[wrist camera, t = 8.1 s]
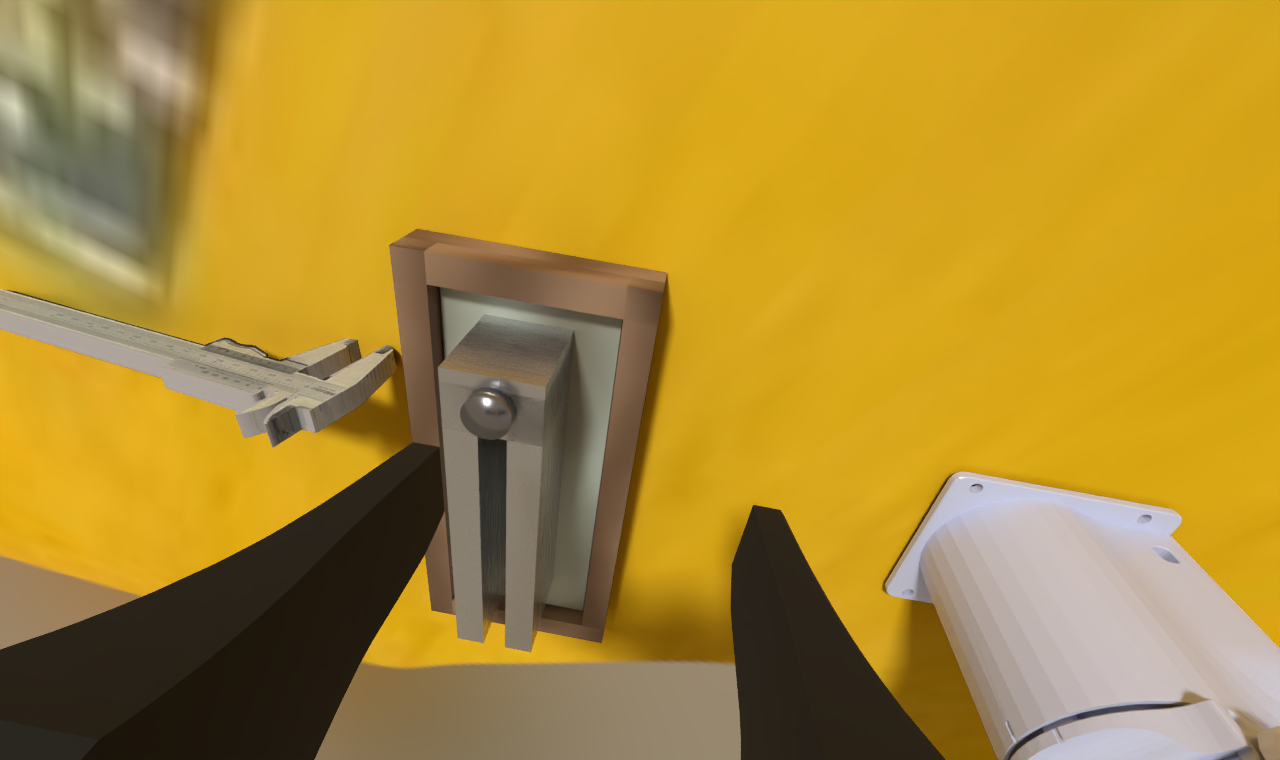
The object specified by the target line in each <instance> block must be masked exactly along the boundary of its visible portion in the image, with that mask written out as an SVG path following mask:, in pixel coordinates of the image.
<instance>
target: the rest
mask: <svg viewBox="0 0 1280 760" xmlns="http://www.w3.org/2000/svg"><path fill="white" fill-rule="evenodd" d="M389 247H390V255H391V264H392V273H393V281H394V290H395V299H396V307H397V316H398V324H399V333H400V342H401V350H402V359H403V368H404V376H405V385H406V394H407V402H408V411H409V420H410V428H411V437H412V443H413V442H416V443H421V444H426V445H432V446H437V447H440V458H441V471H442V483H443V496H444V508H445V511H444V514H443V516H442V518H441V521H440V523H439V525H438V528H437V530H436V532H435V534H434V537H433V539H432V541H431V543H430V545H429V547H428V549H427V552H426V553H425V558H426V566H427V575H428V584H429V592H430V601H431V610H432V611H437V612H443V613H448V614H453V615H456V607H455V593H454V580H453V566H452V553H451V539H450V526H449V512H448V499H447V485H446V472H445V458H444V445H443V431H442V418H441V404H440V391H439V377H438V366H439V365H440V364H441V363H442V362H443V361H444V360H445V358H446V357H447V356H448V355H449V354H450V353H451V352H452V350H453V349H454V348H455V347H456V346H457V345H458V344H459V343H460V341H461V340H462V339H463V338H464V337H465V336H466V335H467V333H468V332H469V331H470V330H471V329H472V328H473V327H474V326H475V324H476V323H477V322H478V321H479V320H480V319H481V318H482V316H483V315H484V314H488V315H493V316H499V317H504V318H510V319H515V320H521V321H526V322H532V323H538V324H543V325H549V326H554V327H560V328H565V329H571V330H574V335H573V347H572V359H571V371H570V383H569V395H568V407H567V419H566V431H565V443H564V455H563V467H562V479H561V491H560V503H559V515H558V527H557V539H556V551H555V563H554V575H553V581H552V584H551V587H550V591H549V594H548V597H547V601H546V604H545V607H544V611H543V614H542V617H541V621H540V624H539V627H538V630H537V631H542V632H547V633H552V634H557V635H562V636H568V637H573V638H578V639H583V640H589V641H594V642H599V643H602V638H603V632H604V627H605V622H606V616H607V611H608V605H609V600H610V594H611V588H612V583H613V577H614V571H615V566H616V560H617V554H618V549H619V543H620V537H621V532H622V526H623V520H624V515H625V509H626V503H627V498H628V492H629V486H630V481H631V475H632V469H633V464H634V458H635V452H636V447H637V441H638V435H639V430H640V424H641V418H642V413H643V407H644V401H645V396H646V390H647V384H648V379H649V373H650V367H651V362H652V356H653V350H654V345H655V339H656V333H657V328H658V322H659V316H660V311H661V305H662V299H663V294H664V288H665V282H666V277H667V273H665V272H659V271H653V270H647V269H642V268H636V267H630V266H625V265H619V264H613V263H608V262H602V261H596V260H591V259H585V258H579V257H574V256H568V255H562V254H557V253H551V252H545V251H539V250H534V249H528V248H522V247H517V246H511V245H505V244H500V243H494V242H488V241H483V240H477V239H471V238H466V237H460V236H454V235H449V234H443V233H437V232H431V231H426V230H420V229H416V230H415V231H413V232H411V233H409V234H408V235H406V236H404V237H403V238H401V239H399V240H397V241H396V242H394V243H392V244H391V245H389ZM505 600H506V586H505V589H504V591H503V594H502V597H501V599H500V602H499V604H498V607H497V610H496V612H495V615H494V617H493V620H492V622H495V623H500V624H505Z"/></svg>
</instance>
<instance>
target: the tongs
mask: <svg viewBox="0 0 1280 760" xmlns="http://www.w3.org/2000/svg"><path fill="white" fill-rule="evenodd" d="M573 335H574V330H571V329H565V328H560V327H554V326H549V325H543V324H538V323H532V322H526V321H521V320H515V319H510V318H504V317H499V316H493V315H488V314H484V315H483V316H482V318H481V319H480V320H479V321H478V322H477V323H476V324H475V326H474V327H473V328H472V329H471V330H470V331H469V332H468V333H467V335H466V336H465V337H464V338H463V339H462V340H461V341H460V343H459V344H458V345H457V346H456V347H455V348H454V349H453V350H452V352H451V353H450V354H449V355H448V356H447V357H446V358H445V360H444V361H443V362H442V363H441V364H440V365H439V366H438V377H439V391H440V404H441V418H442V431H443V445H444V458H445V472H446V485H447V499H448V512H449V526H450V539H451V553H452V566H453V580H454V593H455V607H456V620H457V634H458V638H460V639H466V640H471V641H476V642H481V643H484V641H485V638H486V635H487V633H488V630H489V628H490V625H491V622H492V620H493V617H494V615H495V612H496V610H497V607H498V604H499V602H500V599H501V597H502V594H503V591H504V589H505V586H506V600H505V647H507V648H512V649H517V650H522V651H528V652H531V650H532V647H533V644H534V640H535V637H536V634H537V630H538V627H539V624H540V621H541V617H542V614H543V611H544V607H545V604H546V601H547V597H548V594H549V591H550V587H551V584H552V581H553V575H554V563H555V551H556V539H557V527H558V515H559V503H560V491H561V479H562V467H563V455H564V443H565V431H566V419H567V407H568V395H569V383H570V371H571V359H572V347H573Z"/></svg>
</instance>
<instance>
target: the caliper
mask: <svg viewBox="0 0 1280 760" xmlns="http://www.w3.org/2000/svg"><path fill="white" fill-rule="evenodd" d="M0 329H2V330H5V331H8V332H12V333H15V334H18V335H21V336H25V337H28V338H31V339H34V340H38V341H41V342H44V343H48V344H51V345H54V346H58V347H61V348H64V349H67V350H71V351H74V352H77V353H81V354H84V355H87V356H91V357H94V358H97V359H101V360H104V361H107V362H110V363H114V364H117V365H120V366H124V367H127V368H130V369H134V370H137V371H140V372H144V373H147V374H150V375H153V376H157V377H160V378H162V379H163V381H164V383H165V385H166V388H167V389H171V390H174V391H177V392H180V393H183V394H186V395H189V396H192V397H195V398H198V399H201V400H204V401H208V402H211V403H214V404H217V405H220V406H223V407H226V408H229V409H232V410H235V411H238V412H237V413H235V416H236V418H237V421H238V423H239V426H240V429H241V431H242V434H243V437H244V438H247V437H252V436H255V435H258V434H262V433H265V432H267V434H268V437H269V440H270V442H271V445H272V447H275V446H276V445H278V444H279V443H281V442H283V441H284V440H286V439H287V438H289V437H291V436H292V435H294V434H295V433H297V432H298V431H300V430H306V431H310V432H314V433H317V432H318V431H320V430H322V429H323V428H325V427H326V426H328V425H330V424H331V423H333V422H335V421H336V420H338V419H340V418H341V417H343V416H344V415H346V414H348V413H349V412H351V411H352V410H354V409H356V408H357V407H359V406H361V405H362V404H363V403H364V402H365V401H366V400H367V399H368V398H369V397H370V396H371V395H372V394H373V393H374V392H375V391H376V390H377V389H378V388H379V387H380V386H381V385H382V384H383V383H384V382H385V381H386V380H387V379H388V378H389V377H390V376H391V375H392V374H393V373H394V372H395V371H396V364H395V358H394V353H393V349H392V347H391V346H388V345H385V346H383V347H381V348H380V349H378V350H376V351H375V352H373V353H371V354H369V355H367V356H365V357H364V358H362V359H361V355H360V350H359V345H358V340H352V339H343V340H340V341H337V342H334V343H330V344H327V345H324V346H321V347H318V348H315V349H312V350H309V351H306V352H303V353H300V354H297V355H294V356H291V357H288V358H285V359H282V360H278V359H274V358H270V357H268V354H266V353H265V352H264V351H262V350H261V349H259V348H258V347H257V346H254V345H245V344H240V343H237V342H236V341H234V340H232V339H230V338H221V339H219V340H216V341H213V342H211V343H208V344H206V345H203V344H199V343H196V342H192V341H188V340H185V339H181V338H178V337H174V336H170V335H167V334H163V333H160V332H156V331H152V330H149V329H145V328H142V327H138V326H135V325H131V324H127V323H124V322H120V321H117V320H113V319H109V318H106V317H102V316H99V315H95V314H92V313H88V312H85V311H81V310H78V309H74V308H71V307H67V306H64V305H60V304H57V303H54V302H50V301H47V300H43V299H40V298H36V297H33V296H29V295H26V294H22V293H19V292H15V291H9V290H2V289H0Z"/></svg>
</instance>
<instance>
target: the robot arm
mask: <svg viewBox="0 0 1280 760" xmlns="http://www.w3.org/2000/svg"><path fill="white" fill-rule="evenodd" d="M974 484H977V485H975V486H973V487H971V486H972V485H974ZM444 511H445V508H444V496H443V483H442V471H441V458H440V447H437V446H432V445H426V444H421V443H416V442H413V443H412V444H410V445H409V446H407V447H406V448H404V449H403V450H401V451H399V452H398V453H397V454H395V455H394V456H392V457H391V458H389V459H388V460H386V461H385V462H383V463H382V464H381V465H379V466H378V467H376V468H375V469H373V470H372V471H370V472H369V473H368V474H366V475H365V476H363V477H362V478H360V479H359V480H357V481H356V482H354V483H353V484H351V485H350V486H348V487H347V488H345V489H344V490H342V491H341V492H339V493H338V494H336V495H335V496H333V497H332V498H330V499H329V500H327V501H326V502H324V503H322V504H321V505H319V506H318V507H316V508H314V509H313V510H311V511H309V512H308V513H306V514H305V515H303V516H301V517H300V518H298V519H296V520H295V521H293V522H291V523H290V524H288V525H286V526H285V527H283V528H282V529H280V530H278V531H276V532H274V533H273V534H271V535H269V536H267V537H266V538H264V539H262V540H260V541H258V542H256V543H255V544H253V545H251V546H249V547H247V548H245V549H243V550H241V551H239V552H237V553H235V554H233V555H231V556H230V557H228V558H226V559H224V560H222V561H220V562H218V563H216V564H214V565H211V566H209V567H207V568H205V569H203V570H201V571H198V572H196V573H194V574H192V575H190V576H187V577H185V578H183V579H181V580H179V581H176V582H174V583H172V584H170V585H168V586H166V587H163V588H161V589H159V590H157V591H155V592H152V593H150V594H148V595H145V596H143V597H140V598H138V599H136V600H133V601H131V602H128V603H126V604H124V605H121V606H119V607H116V608H114V609H111V610H108V611H106V612H103V613H101V614H98V615H96V616H93V617H90V618H88V619H85V620H83V621H80V622H78V623H75V624H72V625H69V626H67V627H64V628H61V629H59V630H56V631H53V632H51V633H48V634H44V635H42V636H39V637H36V638H33V639H30V640H27V641H24V642H21V643H18V644H15V645H12V646H10V647H7V648H4V649H1V650H0V760H314V759H315V757H316V755H317V753H318V750H319V748H320V746H321V744H322V741H323V740H324V737H325V735H326V733H327V731H328V729H329V727H330V724H331V722H332V720H333V718H334V716H335V714H336V712H337V709H338V707H339V705H340V703H341V701H342V698H343V697H344V695H345V693H346V691H347V689H348V687H349V685H350V683H351V681H352V679H353V676H354V674H355V673H356V671H357V668H358V666H359V664H360V662H361V661H362V659H363V657H364V655H365V653H366V652H367V650H368V648H369V646H370V644H371V643H372V641H373V639H374V638H375V636H376V634H377V633H378V631H379V629H380V628H381V626H382V625H383V623H384V621H385V620H386V618H387V616H388V615H389V613H390V611H391V610H392V608H393V606H394V605H395V603H396V602H397V600H398V598H399V597H400V595H401V593H402V592H403V590H404V588H405V587H406V585H407V584H408V582H409V580H410V579H411V577H412V575H413V574H414V572H415V570H416V569H417V567H418V565H419V564H420V562H421V560H422V558H423V557H424V555H425V553H426V552H427V549H428V547H429V545H430V543H431V541H432V539H433V537H434V534H435V532H436V530H437V528H438V525H439V523H440V521H441V518H442V516H443V514H444ZM1181 522H1182V518H1181V516H1180V515H1179V514H1178V513H1177V512H1176V511H1174V510H1172V509H1168V508H1163V507H1157V506H1152V505H1146V504H1141V503H1135V502H1130V501H1124V500H1119V499H1113V498H1108V497H1102V496H1097V495H1091V494H1086V493H1080V492H1075V491H1069V490H1064V489H1058V488H1053V487H1047V486H1042V485H1036V484H1031V483H1025V482H1020V481H1014V480H1009V479H1003V478H998V477H992V476H987V475H981V474H976V473H970V472H958V473H955V474H953V475H952V476H951V477H950V478H949V480H948V481H947V483H946V484H945V486H944V488H943V489H942V491H941V493H940V494H939V496H938V498H937V499H936V501H935V502H934V504H933V506H932V507H931V509H930V511H929V512H928V514H927V516H926V517H925V519H924V520H923V522H922V524H921V525H920V527H919V529H918V530H917V532H916V534H915V535H914V537H913V539H912V540H911V542H910V543H909V545H908V547H907V548H906V550H905V552H904V553H903V555H902V557H901V558H900V560H899V561H898V563H897V565H896V566H895V568H894V570H893V571H892V573H891V575H890V576H889V578H888V579H887V581H886V583H885V588H886V591H887V593H888V594H889V595H891V596H894V597H899V598H905V599H910V600H915V601H921V602H926V603H931V604H934V606H935V608H936V611H937V613H938V616H939V618H940V621H941V623H942V626H943V628H944V630H945V633H946V635H947V638H948V640H949V643H950V645H951V647H952V650H953V652H954V655H955V657H956V660H957V662H958V664H959V667H960V669H961V672H962V674H963V677H964V679H965V682H966V684H967V686H968V689H969V691H970V694H971V696H972V699H973V701H974V703H975V706H976V708H977V711H978V713H979V716H980V718H981V720H982V723H983V725H984V728H985V730H986V733H987V735H988V738H989V740H990V742H991V745H992V747H993V750H994V752H995V755H996V757H997V759H998V760H1280V648H1279V647H1278V646H1277V645H1276V644H1275V643H1274V642H1273V641H1272V640H1271V639H1270V638H1269V637H1268V636H1267V635H1266V634H1265V633H1264V632H1263V631H1262V630H1261V629H1260V628H1259V627H1258V626H1257V625H1256V624H1255V623H1254V621H1253V620H1252V619H1251V618H1250V617H1249V616H1248V615H1247V614H1246V613H1245V612H1244V611H1243V610H1242V609H1241V608H1240V607H1239V606H1238V605H1237V604H1236V603H1235V602H1234V601H1233V600H1232V599H1231V598H1230V597H1229V596H1228V595H1227V594H1226V592H1225V591H1224V590H1223V589H1222V588H1221V587H1220V586H1219V585H1218V584H1217V583H1216V582H1215V581H1214V580H1213V579H1212V578H1211V577H1210V576H1209V575H1208V574H1207V573H1206V572H1205V571H1204V570H1203V569H1202V568H1201V567H1200V566H1199V565H1198V564H1197V562H1196V561H1195V560H1194V559H1193V558H1192V557H1191V556H1190V555H1189V554H1188V553H1187V552H1186V551H1185V550H1184V549H1183V548H1182V547H1181V546H1180V545H1179V544H1178V543H1177V542H1176V541H1175V540H1174V539H1173V538H1172V537H1171V536H1170V535H1171V534H1172V533H1173V532H1174V531H1175V530H1176V529H1177V528H1178V527H1179V525H1180V524H1181ZM731 619H732V631H733V643H734V654H735V665H736V676H737V688H738V698H739V710H740V727H741V760H945V759H944V757H943V756H942V755H941V754H940V753H939V751H938V750H937V749H936V748H935V747H934V746H933V744H932V743H931V742H930V741H929V740H928V738H927V737H926V736H925V735H924V734H923V732H922V731H921V730H920V729H919V728H918V726H917V725H916V724H915V723H914V722H913V721H912V719H911V718H910V717H909V716H908V715H907V713H906V712H905V711H904V710H903V708H902V707H901V706H900V704H899V703H898V702H897V700H896V699H895V698H894V697H893V695H892V694H891V693H890V691H889V690H888V689H887V687H886V686H885V685H884V683H883V682H882V681H881V679H880V678H879V676H878V675H877V674H876V672H875V671H874V670H873V668H872V667H871V665H870V664H869V662H868V661H867V660H866V658H865V657H864V655H863V654H862V652H861V651H860V649H859V648H858V646H857V645H856V643H855V642H854V640H853V639H852V637H851V636H850V634H849V632H848V631H847V629H846V628H845V626H844V625H843V623H842V621H841V620H840V618H839V617H838V615H837V613H836V612H835V610H834V608H833V607H832V605H831V603H830V602H829V600H828V598H827V596H826V595H825V593H824V591H823V589H822V588H821V586H820V584H819V582H818V581H817V579H816V577H815V575H814V574H813V572H812V570H811V568H810V566H809V564H808V562H807V560H806V559H805V557H804V555H803V553H802V551H801V549H800V547H799V545H798V543H797V541H796V539H795V537H794V535H793V533H792V531H791V529H790V527H789V525H788V523H787V521H786V519H785V517H784V515H783V513H782V512H781V510H778V509H772V508H767V507H762V506H756V505H753V507H752V510H751V513H750V516H749V518H748V521H747V524H746V527H745V530H744V532H743V535H742V538H741V541H740V544H739V546H738V549H737V552H736V555H735V558H734V560H733V563H732V578H731Z"/></svg>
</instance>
